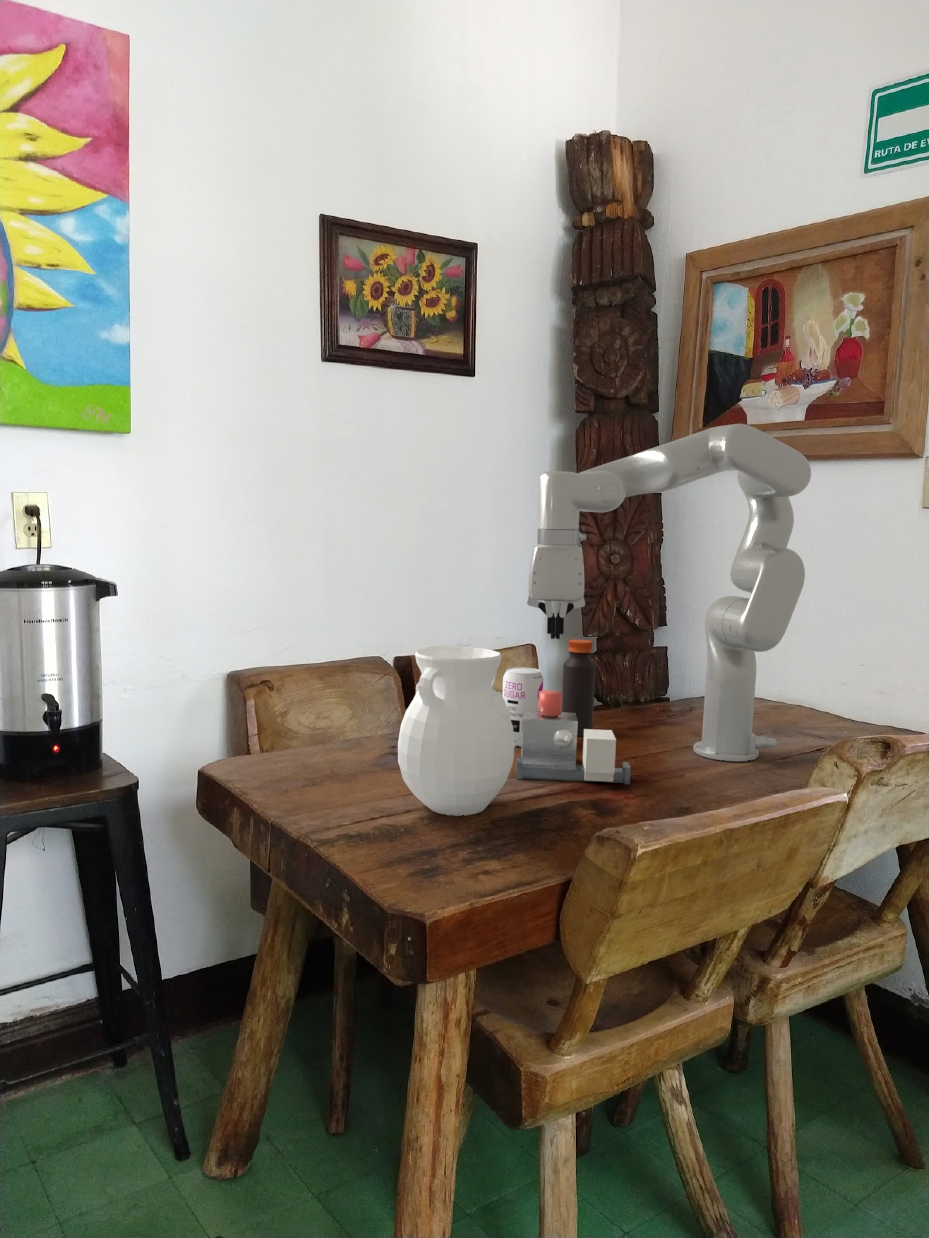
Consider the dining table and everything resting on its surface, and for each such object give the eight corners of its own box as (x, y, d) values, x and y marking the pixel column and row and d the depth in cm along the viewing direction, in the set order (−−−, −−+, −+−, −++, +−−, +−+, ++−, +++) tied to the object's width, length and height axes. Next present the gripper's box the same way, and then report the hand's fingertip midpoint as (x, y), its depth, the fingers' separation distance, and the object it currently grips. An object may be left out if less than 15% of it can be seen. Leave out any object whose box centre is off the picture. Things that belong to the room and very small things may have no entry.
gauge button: (560, 731, 176) (561, 690, 175) (561, 737, 171) (563, 695, 171) (536, 730, 176) (538, 689, 175) (537, 736, 172) (539, 694, 171)
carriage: (609, 772, 167) (611, 730, 166) (613, 783, 160) (616, 739, 160) (582, 770, 168) (584, 728, 167) (585, 782, 161) (587, 738, 160)
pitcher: (448, 781, 160) (452, 639, 157) (534, 805, 149) (541, 653, 146) (371, 806, 146) (374, 650, 143) (461, 835, 135) (466, 666, 131)
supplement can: (540, 738, 192) (543, 667, 190) (540, 748, 184) (543, 674, 182) (502, 736, 193) (504, 666, 191) (499, 746, 185) (502, 673, 183)
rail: (627, 778, 166) (628, 761, 165) (629, 784, 162) (630, 767, 162) (516, 773, 167) (516, 757, 166) (516, 778, 163) (516, 762, 163)
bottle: (554, 730, 200) (558, 639, 197) (581, 728, 202) (586, 638, 200) (570, 737, 193) (574, 643, 191) (598, 735, 196) (602, 642, 194)
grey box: (573, 758, 178) (575, 712, 177) (575, 769, 170) (577, 721, 169) (521, 756, 178) (523, 710, 177) (521, 766, 171) (523, 719, 170)
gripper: (596, 539, 173) (593, 636, 175) (517, 537, 173) (514, 634, 176) (600, 540, 165) (597, 642, 168) (517, 539, 166) (514, 640, 168)
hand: (555, 637), depth 172 cm, fingers closed
